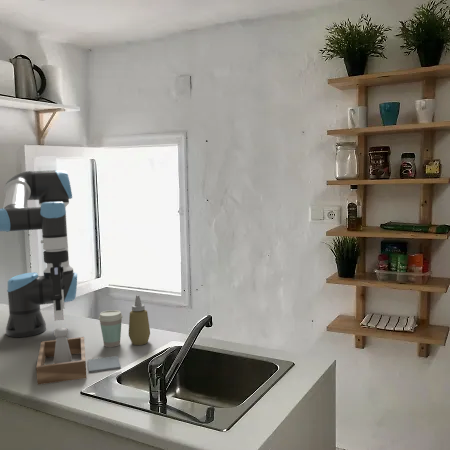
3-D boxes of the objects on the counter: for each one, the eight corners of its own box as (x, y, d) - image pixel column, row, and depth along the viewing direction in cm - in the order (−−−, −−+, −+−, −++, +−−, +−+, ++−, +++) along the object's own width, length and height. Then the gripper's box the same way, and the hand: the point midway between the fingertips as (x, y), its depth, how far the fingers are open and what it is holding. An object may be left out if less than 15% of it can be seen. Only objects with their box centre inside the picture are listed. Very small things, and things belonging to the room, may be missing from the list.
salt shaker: (66, 370, 162) (64, 332, 161) (50, 369, 163) (47, 331, 162) (75, 363, 168) (73, 326, 166) (59, 362, 169) (57, 325, 167)
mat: (88, 361, 170) (87, 359, 170) (118, 357, 173) (117, 355, 172) (88, 372, 160) (88, 370, 160) (120, 368, 163) (120, 366, 163)
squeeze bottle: (124, 345, 184) (122, 297, 182) (136, 338, 192) (134, 292, 190) (143, 347, 181) (141, 299, 179) (154, 340, 189) (152, 293, 187)
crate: (42, 356, 175) (41, 341, 174) (84, 351, 179) (84, 336, 178) (37, 384, 152) (36, 367, 151) (86, 378, 156) (85, 361, 156)
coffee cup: (128, 342, 188) (126, 311, 186) (114, 349, 180) (112, 317, 179) (109, 339, 191) (108, 308, 190) (95, 346, 184) (93, 315, 182)
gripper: (45, 245, 172) (49, 305, 174) (40, 256, 148) (45, 326, 150) (68, 244, 174) (71, 303, 176) (67, 254, 150) (71, 323, 152)
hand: (59, 314), depth 163 cm, fingers open, 13 cm apart
